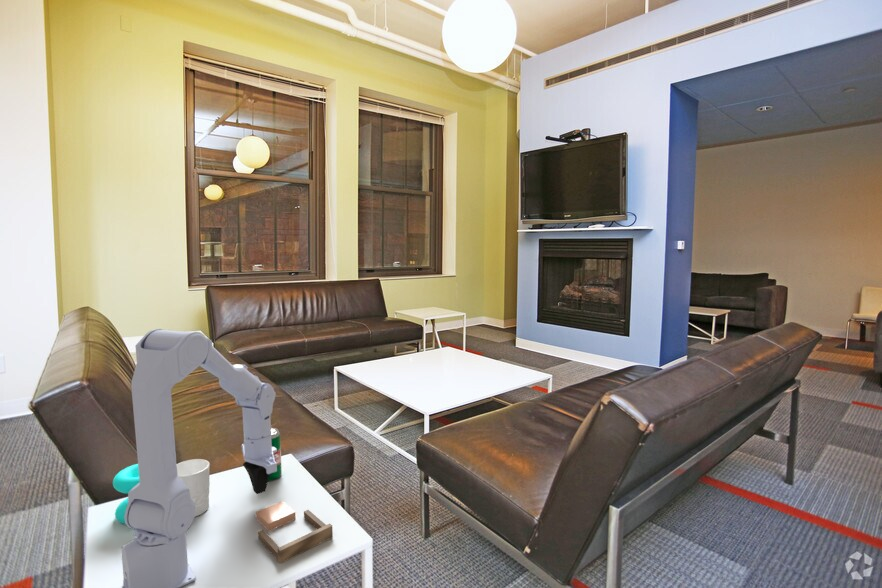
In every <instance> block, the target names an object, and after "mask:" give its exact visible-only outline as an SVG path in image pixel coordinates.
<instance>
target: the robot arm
mask: <svg viewBox="0 0 882 588" xmlns="http://www.w3.org/2000/svg"><path fill="white" fill-rule="evenodd" d="M134 347H135V356H136V364H135V367H134V371H133V375H132V378H131V386H130V387H131V397H132V410H133V421H134V432H135V444H136V455H137V464H138V469H139V480H140V483H138V484H137V485H136V486H135V487H134V488H132V489H131V490H130V491H129V493H127V498H128V505H127V508H126V511H125V523H126V524H125V525H126V526H127V527H128V529H129V528H130V529H133V536H134V537H135V538H134V539H133V540H131V541H130V542H128V543H126V544H124V545H123V546H121V562H122V573H123V574H122V576H123V580H122V582H123V584H122V585H123V588H181V587H184V586H185V585H188V584H190V583H192V582H195V580H197V576H196V573H194V571H193V569H192V567H191V566H190V564H189V562H188V561H189V560H188V559H189V558H188V547H187V544H188V543H187V531H188V530H189V528H190V526H191V525H192V523H193V521H194V518H195V517H194V515H195V504H194V502H193V500H192V499H191V497H190V493H189V488H188V487H187V485H186V484H185V483H184V482H183V481H182V480H181V479H180V478H179V477H178V475H177V464H178V463H177V453H176V440H175V427H174V425H175V424H174V412H173V399H172V388H174V386H175V385H176V384H178V383H181V381H183V380H184V379H185V378H187V377H188V376H189V375H190V374H191V373H192V372H194V371H195V370H196V369H197V368H199V367H201V368H202V369H204V370H205V371H207V372H209V373H210V374H212V375H213V376H215V377H216V378H218V384H219V387H220V388H221V389H222V390H224V391H225V392H226V393H228V394H230V395H231V396H232V397H234V401H235V404H236V405H237V406H239V407H242V408H241V409H242V410H241V412H242V426H243V427H242V429H243V443H242V444H241V453H242V454H243V460H244V462H243V463H242V466H243V468H245V470H246V472H247V474H248V476H249V479H250V483H251V485H252V489H253V492H254V493H255V494H256V495H259V494H262V493H265V492H266V490H267V485H268V483H269V482H268V478H269V475H270V474H271V473H273V472H276V471H277V463H276V462H275V460H274V455H273V453H275V452H277V449H276V448H275V447H272V443H271V428H272V424H271V423H272V422H271V415H272V414H273V408H274V403H275V400H276V393H277V392H276V391H275V389H274V387H273V386H272V385H271V384H270V383H269V382H262V381H261V380H260V378H259V376H258V375H254V374H253V373H252V372H250V371H249V370H248V368H249V367H248V366H247V365H246V364H239V363H238V364H237V363H236V364H232V363H231V362H230V361H229V360H227V358H226V357H224V355H223V354H222V353H221V352H219V351H218V350H217V348H216V347H214V346H213V341H212V339H210V338H207V337H206V335H205V334H203V333H202V332H200V331H179V330H167V329H162V328H154V329H151V330H149V331H148V332H147V333H146V334H145V335H143V336H142V338H141V339H140V340H139V341H138V342H137V343H136V344H135V346H134Z"/></svg>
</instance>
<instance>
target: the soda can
mask: <svg viewBox="0 0 882 588" xmlns="http://www.w3.org/2000/svg"><path fill="white" fill-rule="evenodd" d="M271 443H272V447H275V448H276V449H277V452H275V453H273V455H274V460H275V462H276V463H277V471H276V472H273V473H271V474H270V475H269V478H268V481H269V482H270V481H271V482H272V481H275V480H278V478H280V476H281V475H282V472H283V471H282V450H281V449H282V446H281V433H280V431H279V429H278V428H275V427H271Z"/></svg>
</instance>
